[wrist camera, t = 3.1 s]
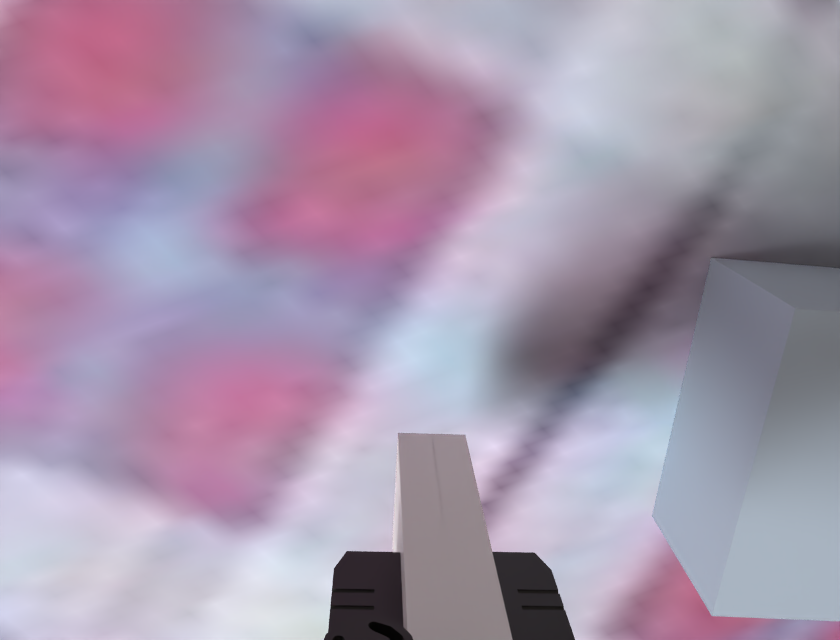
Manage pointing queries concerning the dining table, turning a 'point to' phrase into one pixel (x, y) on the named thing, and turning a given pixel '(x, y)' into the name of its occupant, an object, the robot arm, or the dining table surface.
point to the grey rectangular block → (759, 444)
